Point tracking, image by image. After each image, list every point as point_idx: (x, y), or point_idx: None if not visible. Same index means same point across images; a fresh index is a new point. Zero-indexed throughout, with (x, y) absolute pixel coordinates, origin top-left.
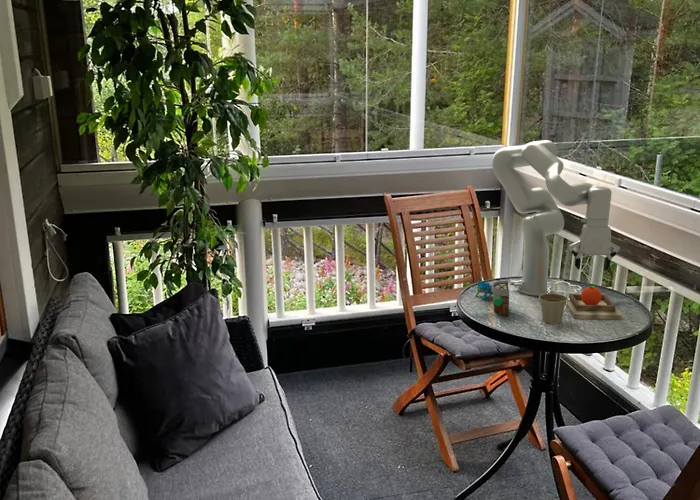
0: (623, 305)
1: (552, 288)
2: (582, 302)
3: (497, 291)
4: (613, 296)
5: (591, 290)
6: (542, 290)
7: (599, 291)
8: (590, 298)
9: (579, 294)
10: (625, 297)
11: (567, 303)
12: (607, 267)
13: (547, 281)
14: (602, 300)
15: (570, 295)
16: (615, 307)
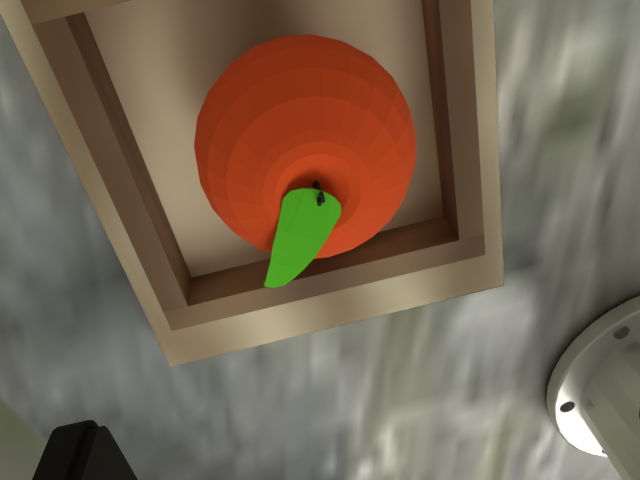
0: (33, 276)
1: (523, 440)
2: None
3: None
4: (138, 424)
5: (318, 117)
6: (633, 346)
7: (216, 172)
8: (314, 39)
9: (399, 264)
10: None
11: (496, 118)
12: (52, 474)
13: (617, 435)
14: (198, 270)
15: (482, 215)
16: (59, 118)
